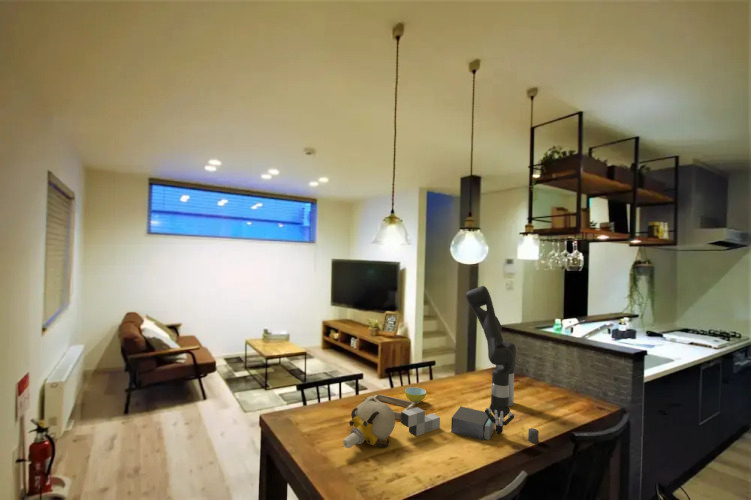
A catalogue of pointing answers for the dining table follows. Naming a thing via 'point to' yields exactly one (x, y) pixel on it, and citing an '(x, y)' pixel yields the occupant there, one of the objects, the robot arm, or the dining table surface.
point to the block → (419, 421)
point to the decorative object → (371, 423)
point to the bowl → (415, 394)
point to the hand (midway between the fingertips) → (499, 433)
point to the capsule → (533, 435)
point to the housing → (469, 422)
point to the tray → (488, 429)
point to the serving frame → (396, 401)
